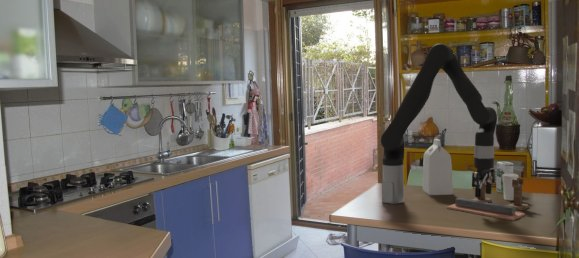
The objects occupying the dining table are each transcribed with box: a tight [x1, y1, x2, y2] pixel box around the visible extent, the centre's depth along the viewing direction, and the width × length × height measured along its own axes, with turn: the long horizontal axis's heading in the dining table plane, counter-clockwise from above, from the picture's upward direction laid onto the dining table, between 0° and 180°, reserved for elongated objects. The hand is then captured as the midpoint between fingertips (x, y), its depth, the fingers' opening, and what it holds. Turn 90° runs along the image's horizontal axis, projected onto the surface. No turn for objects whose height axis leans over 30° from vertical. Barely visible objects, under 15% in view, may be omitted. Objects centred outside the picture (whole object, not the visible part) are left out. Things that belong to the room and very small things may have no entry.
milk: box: [422, 138, 454, 196], centre depth 233 cm, size 12×12×26 cm
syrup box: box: [495, 161, 515, 194], centre depth 229 cm, size 6×6×14 cm
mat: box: [446, 203, 525, 222], centre depth 196 cm, size 10×28×1 cm, turn 41°
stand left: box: [470, 182, 493, 203], centre depth 212 cm, size 7×6×12 cm
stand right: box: [507, 177, 530, 212], centre depth 200 cm, size 7×6×12 cm
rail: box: [454, 197, 516, 216], centre depth 195 cm, size 3×24×3 cm, turn 41°
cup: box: [502, 173, 519, 201], centre depth 215 cm, size 7×7×11 cm
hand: (483, 195), depth 195 cm, fingers open, 8 cm apart
